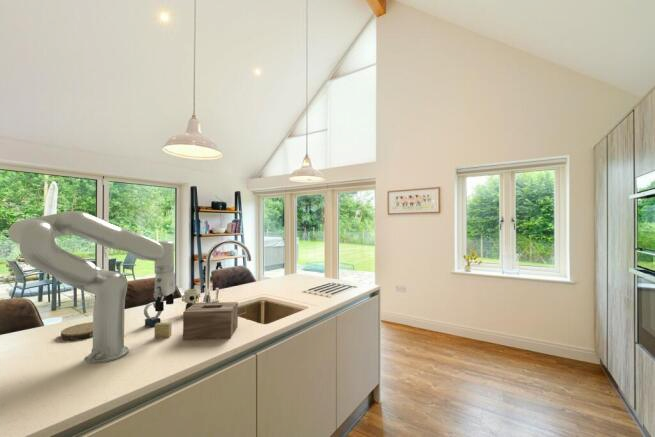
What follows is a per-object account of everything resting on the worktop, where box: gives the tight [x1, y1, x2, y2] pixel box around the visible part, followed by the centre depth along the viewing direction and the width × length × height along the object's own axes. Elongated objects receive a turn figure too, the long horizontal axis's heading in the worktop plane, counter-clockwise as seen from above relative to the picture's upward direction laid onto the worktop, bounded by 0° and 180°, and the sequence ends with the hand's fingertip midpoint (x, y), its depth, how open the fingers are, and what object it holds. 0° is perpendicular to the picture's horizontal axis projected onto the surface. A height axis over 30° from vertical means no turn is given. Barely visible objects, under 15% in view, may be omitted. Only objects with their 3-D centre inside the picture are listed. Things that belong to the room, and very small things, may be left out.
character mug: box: [181, 288, 201, 311], centre depth 160 cm, size 11×7×13 cm, turn 148°
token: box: [153, 321, 173, 339], centre depth 127 cm, size 2×6×6 cm, turn 96°
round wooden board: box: [60, 321, 93, 342], centre depth 131 cm, size 16×16×3 cm
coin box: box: [182, 301, 239, 341], centre depth 132 cm, size 14×20×12 cm
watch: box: [143, 301, 163, 328], centre depth 142 cm, size 6×8×11 cm
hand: (164, 307), depth 128 cm, fingers open, 9 cm apart
